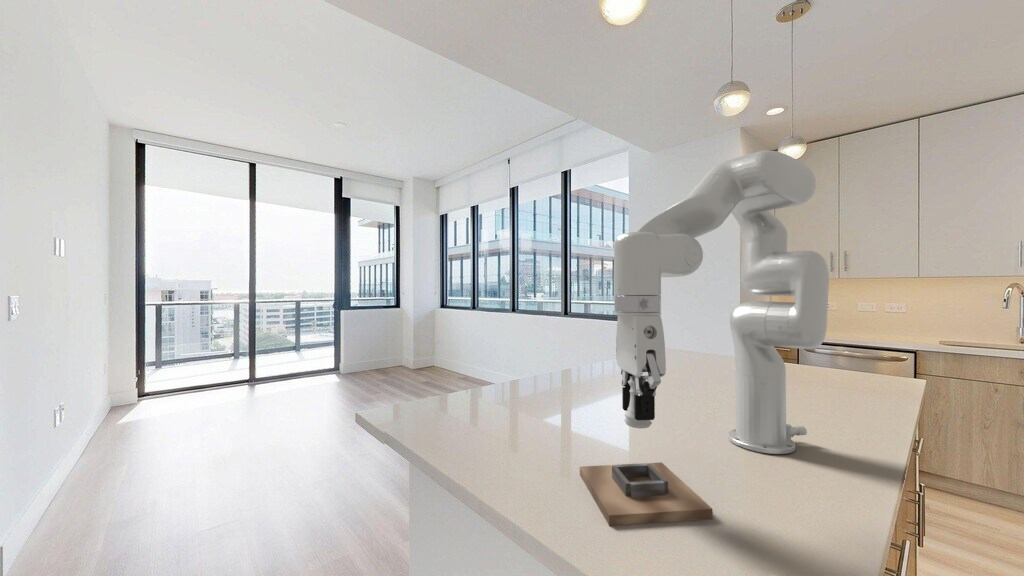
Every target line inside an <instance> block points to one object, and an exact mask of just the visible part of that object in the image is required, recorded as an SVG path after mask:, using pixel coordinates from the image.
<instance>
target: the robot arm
mask: <svg viewBox="0 0 1024 576" xmlns="http://www.w3.org/2000/svg"><path fill="white" fill-rule="evenodd" d="M816 185H817V182H816V178H815V174H814V172H813V170H812V169H811V168H810V166H808V165H807V164H806V163H804V162H802V161H800V160H798V159H797V158H795V157H793V156H790V155H788V154H786V153H784V152H780V151H777V150H772V149H771V150H770V149H769V150H768V149H765V150H759V151H757V152H753V153H749V154H745V155H741V156H738V157H734V158H731V159H727V160H725V161H722V162H720V163H718V164H716V165H714V166H713V167H712V168H710V170H709V171H708V172H707V173H706V174H705V176H704V177H703V178H702V179H701V180H700V181H699V183H697V184H696V185H695V187H694V188H693V189H692V190H691V191H690V192H689V193H688V195H687V196H686V197H684V198H683V199H682V200H679V201H678V202H676V203H674V204H673V205H671V206H670V207H668V208H667V209H665V210H663V211H661V212H660V213H659V214H657V215H655V216H654V217H652V218H651V219H649V220H647V221H646V222H645V223H644V224H642V226H640V227H639V228H638V229H637V230H636V231H634V232H625V233H620V234H619V235H617V236H616V238H615V240H614V243H613V244H614V245H613V251H614V252H613V254H614V255H613V256H614V257H613V258H614V259H613V261H614V265H613V266H614V271H613V272H614V276H613V277H614V279H613V280H614V281H613V282H614V284H613V285H614V287H613V288H614V291H613V293H614V315H617V323H616V334H615V335H616V337H615V341H616V342H615V356H616V358H615V359H616V364H617V366H618V367H619V369H620V375H621V385H622V387H621V388H622V390H621V391H622V395H621V396H622V400H621V401H622V403H621V404H622V407H621V408H622V409H623V411H624V412H626V411H627V409H628V407H629V404H630V392H629V391H630V389H631V387H630V385H629V383H628V381H629V380H630V376H632V375H634V376H635V381H636V392H637V395H634V418H635V419H636V420H650V421H654V420H655V417H656V413H655V410H656V408H655V407H656V403H655V402H656V401H655V400H656V398H655V396H656V394H657V390H656V389H657V388H658V386H659V385H660V384H661V383H662V378H663V377H664V376H666V374H667V373H666V372H667V363H666V362H667V361H666V359H667V357H666V344H665V343H666V342H665V333H664V326H663V319H662V278H679V277H685V276H689V275H692V274H693V273H695V272H696V271H697V270H698V269H699V268H700V266H701V265H702V262H703V259H704V250H703V248H702V245H701V244H700V242H699V240H698V239H696V238H698V237H701V236H704V235H705V234H706V235H707V234H709V233H710V232H713V231H714V230H717V229H718V228H719V227H721V226H722V225H723V223H725V221H726V220H727V218H728V217H729V216H730V214H732V215H733V217H734V218H735V221H737V223H738V225H739V227H740V230H741V232H742V233H741V234H742V253H741V254H742V255H741V267H740V268H741V271H740V284H741V287H742V290H743V291H744V292H745V293H747V294H749V295H752V296H766V297H769V296H772V297H773V296H774V297H778V296H779V297H794V301H793V302H792V301H763V300H761V301H759V300H757V301H745V302H741V303H740V304H738V305H736V306H735V307H734V308H733V309H732V311H731V313H730V316H729V326H730V331H731V335H732V340H733V341H732V342H733V347H734V358H735V372H734V373H735V428H734V429H732V430H730V431H729V432H728V434H727V435H728V439H729V441H731V443H733V444H734V445H736V446H738V447H739V448H743V449H746V450H749V451H753V452H758V453H761V454H762V453H764V454H768V455H787V454H791V453H793V452H795V450H796V442H794V441H793V440H792V438H793V437H794V436H799V437H800V436H806V435H807V433H808V430H807V428H806V427H805V426H802V425H800V426H798V425H797V426H792V425H791V424H790V423H787V370H786V365H785V361H784V358H782V356H781V355H780V353H779V352H778V350H777V349H776V348H775V347H783V348H792V349H801V350H802V349H804V350H812V349H817V348H818V347H820V346H821V345H822V344H823V343H824V341H825V338H826V335H827V324H828V310H829V309H828V308H829V307H828V306H829V305H828V304H829V292H830V291H829V289H830V275H829V274H830V273H829V267H828V264H827V262H826V260H825V258H824V256H823V255H822V254H820V253H818V252H817V251H813V250H795V251H788V230H787V228H786V226H785V225H784V224H783V223H782V222H781V220H780V219H778V218H777V216H775V215H774V214H773V213H772V212H771V211H772V210H777V209H778V210H779V209H783V208H791V207H797V206H800V205H801V206H802V204H806V203H807V202H808V201H810V200H811V199H812V197H813V196H814V193H815V191H816ZM644 373H647V375H644ZM641 380H646V381H645V382H644V383H643V385H642V381H641Z"/></svg>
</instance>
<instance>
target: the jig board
mask: <svg viewBox="0 0 1024 576" xmlns="http://www.w3.org/2000/svg"><path fill="white" fill-rule="evenodd" d="M579 476H580V478H581V480H582V481H583V483H584V484H585V486H586V489H587V490H588V492H589V493H590V495H591V496H592V499H593V500H594V502H595V503H596V505H597V507H598V509H599V510H600V512H601V514H602V515H603V518H604V519H605V521H606V523H607V525H608V526H609V527H610V526H611V527H612V526H625V525H626V526H627V525H641V524H655V523H670V522H682V521H683V522H684V521H685V522H686V521H699V520H700V521H701V520H713V518H714V517H713V516H714V515H713V508H712V506H710V505H709V504H708V503H707V502H706V501H705V500H704V499H702V497H700V496H699V495H698V494H697V493H696V492H695V491H694V490H693V489H691V487H689V486H688V485H687V484H686V483H685V482H684V481H683V480H681V479H680V477H679V476H677V475H676V474H675V473H674V472H673V471H672V470H671V469H670V468H668V467H667V465H665V464H664V463H663V462H661V461H660V462H644V463H641V462H640V463H623V464H620V463H619V464H605V465H602V464H601V465H586V466H585V465H584V466H579Z"/></svg>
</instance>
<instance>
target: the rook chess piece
mask: <svg viewBox="0 0 1024 576" xmlns="http://www.w3.org/2000/svg"><path fill="white" fill-rule="evenodd" d="M641 381H642V385H643V383H644V382H645V381H647V380H641ZM628 383H629V385H630V387H631V389H630V391H629V392H630V404H629V407H628V409H627V411H625V412H624V417H625V419H624V420H623V421H624V422H625V425H627V426H628V427H631V428H634V429H635V428H636V429H647V428H648V429H649V428H650V427H651V425H653V424H652V423H653V422H652V420H636V419H635V418H634V395H637V392H636V381H635V376H634V375H632V376H630V380H629V381H628Z"/></svg>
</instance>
